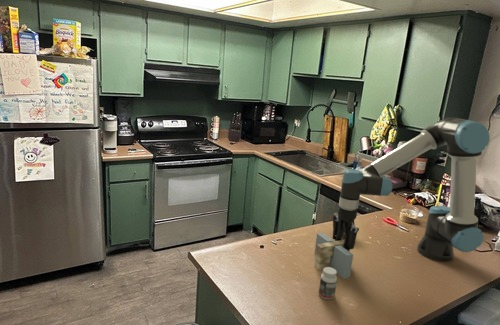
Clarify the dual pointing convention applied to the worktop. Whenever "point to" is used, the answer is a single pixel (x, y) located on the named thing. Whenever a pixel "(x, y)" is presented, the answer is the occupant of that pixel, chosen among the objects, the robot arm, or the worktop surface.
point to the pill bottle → (328, 283)
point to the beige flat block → (325, 253)
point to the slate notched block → (337, 257)
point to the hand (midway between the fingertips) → (340, 259)
